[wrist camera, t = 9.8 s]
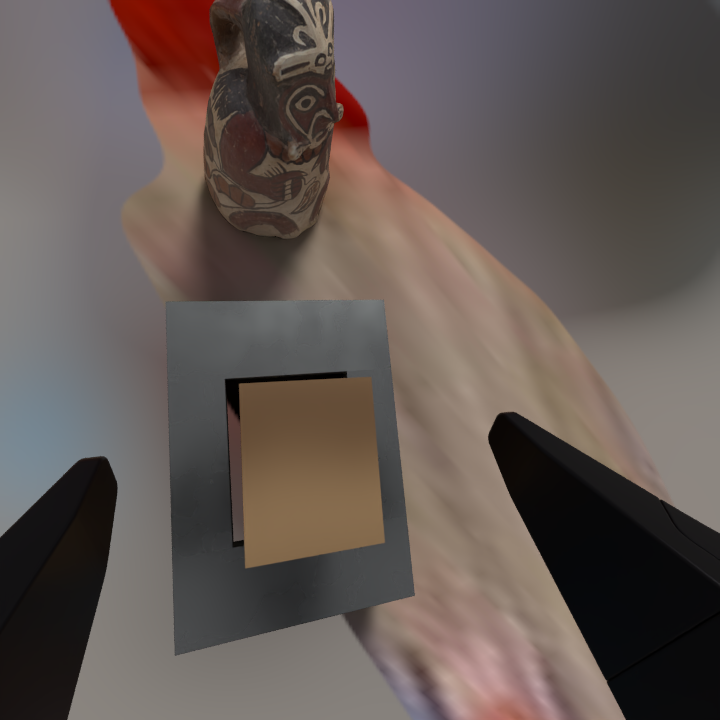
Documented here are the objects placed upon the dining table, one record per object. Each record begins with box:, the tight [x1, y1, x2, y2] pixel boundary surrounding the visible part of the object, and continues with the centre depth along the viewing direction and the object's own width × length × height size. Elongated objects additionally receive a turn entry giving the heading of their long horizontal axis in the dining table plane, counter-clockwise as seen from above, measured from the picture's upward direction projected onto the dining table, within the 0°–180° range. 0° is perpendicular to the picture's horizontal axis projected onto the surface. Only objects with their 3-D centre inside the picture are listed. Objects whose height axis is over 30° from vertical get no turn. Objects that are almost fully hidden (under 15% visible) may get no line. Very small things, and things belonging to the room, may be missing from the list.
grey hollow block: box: [166, 300, 415, 655], centre depth 19 cm, size 14×10×5 cm
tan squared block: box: [239, 377, 385, 568], centre depth 16 cm, size 5×4×11 cm
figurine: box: [204, 0, 343, 239], centre depth 18 cm, size 7×7×12 cm
